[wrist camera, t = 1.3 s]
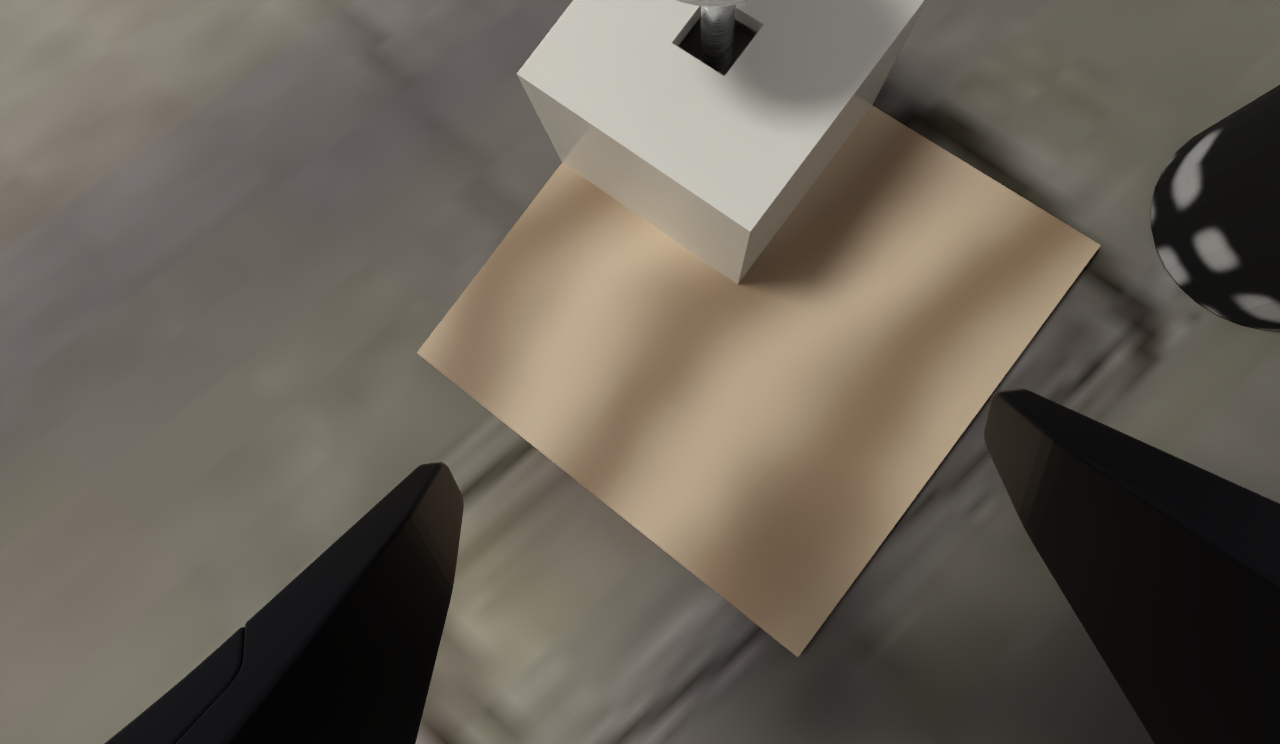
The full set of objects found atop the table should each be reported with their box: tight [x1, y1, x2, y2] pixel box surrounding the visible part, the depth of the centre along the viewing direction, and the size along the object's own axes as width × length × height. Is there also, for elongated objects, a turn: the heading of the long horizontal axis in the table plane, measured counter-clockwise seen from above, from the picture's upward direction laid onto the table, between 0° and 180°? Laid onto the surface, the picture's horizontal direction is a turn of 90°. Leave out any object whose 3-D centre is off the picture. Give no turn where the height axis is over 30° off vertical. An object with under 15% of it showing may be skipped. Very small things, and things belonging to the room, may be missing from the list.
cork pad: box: [417, 106, 1101, 657], centre depth 23 cm, size 19×19×1 cm
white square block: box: [517, 0, 927, 285], centre depth 21 cm, size 9×9×6 cm
